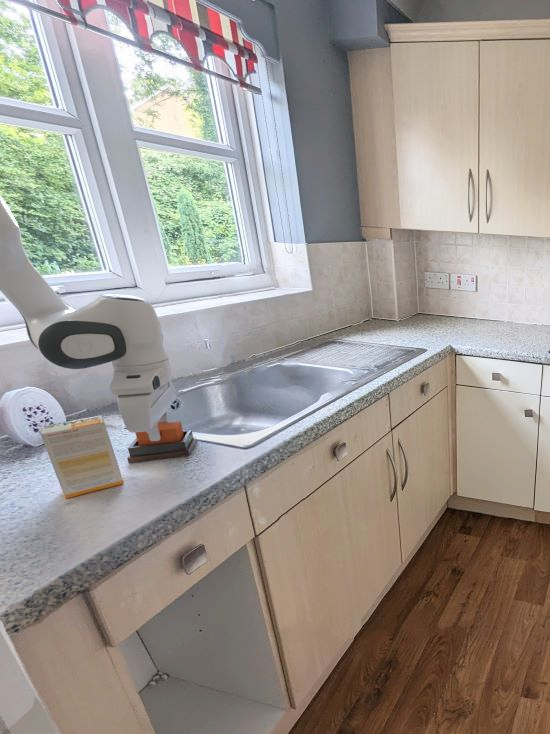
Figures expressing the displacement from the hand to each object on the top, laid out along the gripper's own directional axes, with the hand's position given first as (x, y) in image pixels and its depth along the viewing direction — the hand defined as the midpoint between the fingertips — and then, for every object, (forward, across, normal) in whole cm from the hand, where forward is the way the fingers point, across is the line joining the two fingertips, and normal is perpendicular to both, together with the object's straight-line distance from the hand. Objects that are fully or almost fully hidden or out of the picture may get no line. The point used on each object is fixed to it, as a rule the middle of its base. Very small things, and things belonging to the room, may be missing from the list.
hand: (160, 434), depth 98 cm
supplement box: (+4, +13, -8) cm, 16 cm away
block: (+2, 0, 0) cm, 2 cm away
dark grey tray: (+4, 0, 0) cm, 4 cm away
